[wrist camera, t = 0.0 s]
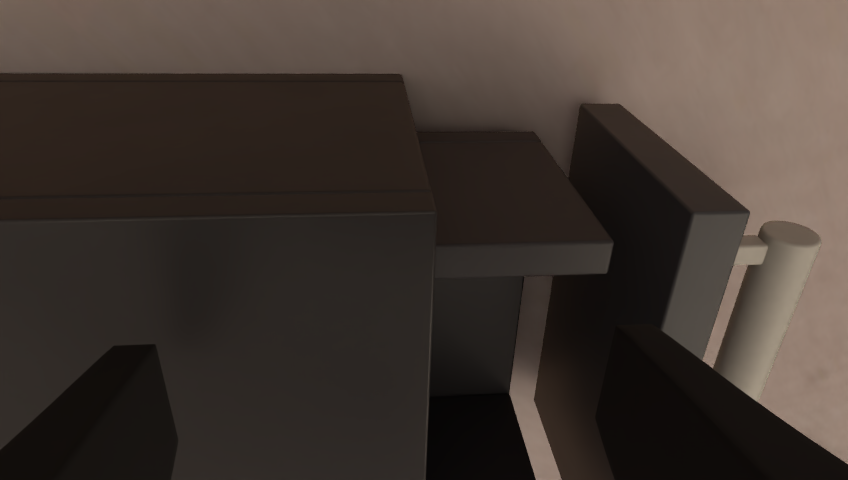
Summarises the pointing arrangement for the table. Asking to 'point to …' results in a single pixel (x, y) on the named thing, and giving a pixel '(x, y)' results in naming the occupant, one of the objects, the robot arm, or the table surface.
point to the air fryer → (225, 262)
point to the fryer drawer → (585, 282)
